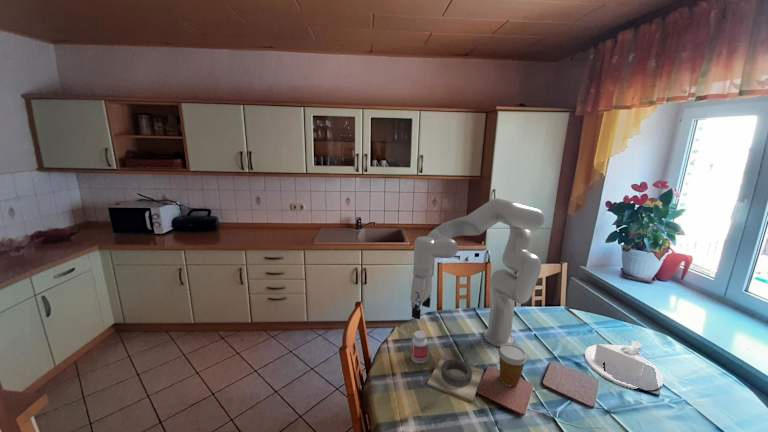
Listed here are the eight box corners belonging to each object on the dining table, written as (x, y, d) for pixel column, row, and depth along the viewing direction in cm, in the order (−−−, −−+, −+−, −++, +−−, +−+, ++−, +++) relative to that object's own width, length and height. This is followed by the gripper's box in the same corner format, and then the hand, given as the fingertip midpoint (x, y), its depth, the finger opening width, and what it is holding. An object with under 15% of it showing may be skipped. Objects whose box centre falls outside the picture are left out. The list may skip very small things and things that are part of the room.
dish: (650, 357, 131) (657, 333, 128) (673, 401, 109) (681, 373, 106) (581, 340, 141) (585, 317, 138) (589, 378, 119) (594, 351, 116)
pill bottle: (429, 360, 127) (431, 335, 124) (417, 366, 123) (418, 341, 121) (419, 351, 132) (420, 327, 129) (407, 357, 128) (408, 332, 126)
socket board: (442, 358, 128) (442, 349, 127) (483, 372, 120) (484, 363, 119) (427, 384, 114) (427, 374, 113) (472, 402, 107) (473, 392, 106)
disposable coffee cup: (510, 393, 111) (514, 363, 108) (489, 375, 119) (492, 347, 116) (529, 384, 115) (533, 355, 112) (508, 368, 123) (511, 340, 120)
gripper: (423, 260, 127) (420, 300, 131) (404, 276, 113) (402, 319, 117) (441, 264, 124) (438, 304, 128) (424, 281, 109) (421, 326, 113)
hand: (421, 312), depth 122 cm, fingers open, 9 cm apart
